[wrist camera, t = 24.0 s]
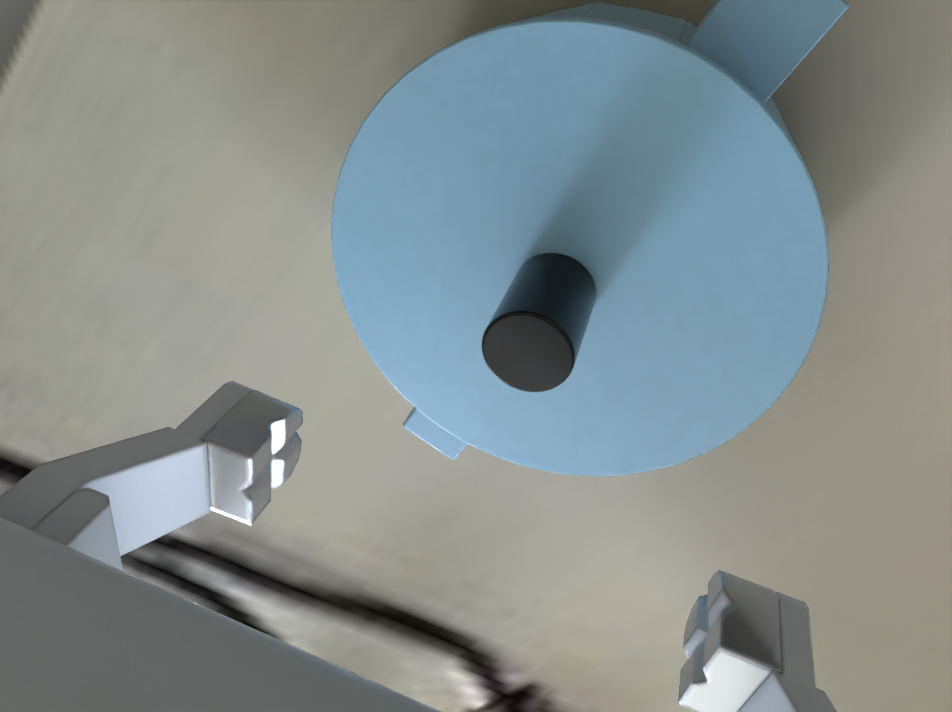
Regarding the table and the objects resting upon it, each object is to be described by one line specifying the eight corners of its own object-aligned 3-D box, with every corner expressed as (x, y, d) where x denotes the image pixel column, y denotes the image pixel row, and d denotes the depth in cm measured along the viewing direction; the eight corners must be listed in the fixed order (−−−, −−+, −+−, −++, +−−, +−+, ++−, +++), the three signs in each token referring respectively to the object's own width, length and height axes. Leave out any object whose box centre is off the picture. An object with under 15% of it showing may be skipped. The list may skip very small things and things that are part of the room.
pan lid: (957, 235, 17) (1016, 328, 14) (611, 517, 26) (591, 621, 22) (485, -117, 16) (412, -117, 13) (287, 299, 25) (210, 370, 21)
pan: (981, 101, 20) (1049, 160, 15) (588, 462, 31) (565, 552, 27) (595, -198, 19) (554, -222, 14) (335, 289, 30) (269, 355, 26)
